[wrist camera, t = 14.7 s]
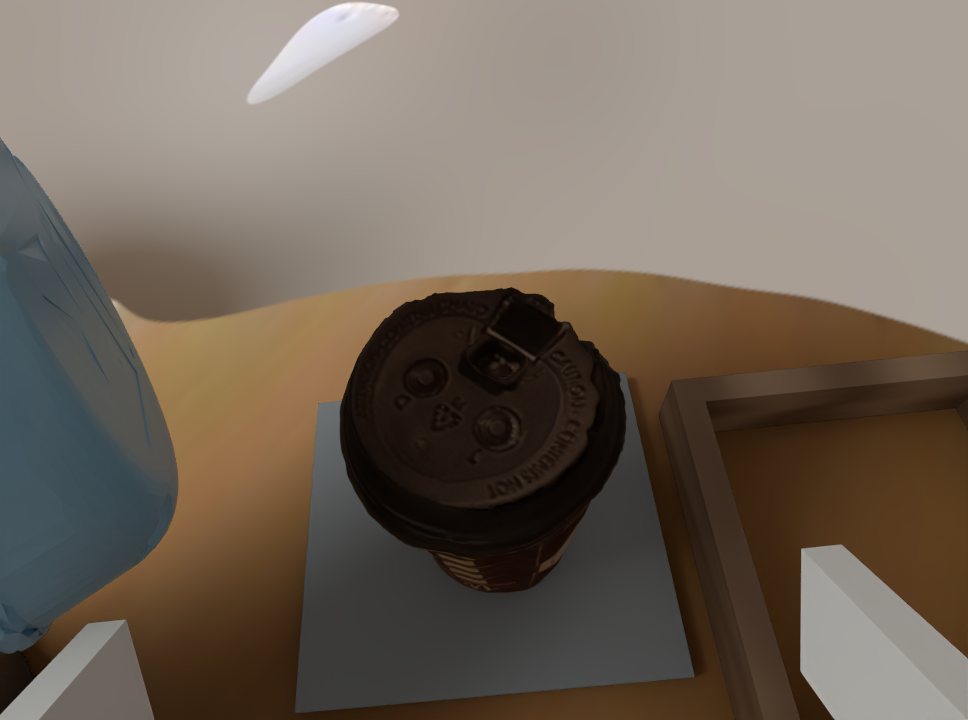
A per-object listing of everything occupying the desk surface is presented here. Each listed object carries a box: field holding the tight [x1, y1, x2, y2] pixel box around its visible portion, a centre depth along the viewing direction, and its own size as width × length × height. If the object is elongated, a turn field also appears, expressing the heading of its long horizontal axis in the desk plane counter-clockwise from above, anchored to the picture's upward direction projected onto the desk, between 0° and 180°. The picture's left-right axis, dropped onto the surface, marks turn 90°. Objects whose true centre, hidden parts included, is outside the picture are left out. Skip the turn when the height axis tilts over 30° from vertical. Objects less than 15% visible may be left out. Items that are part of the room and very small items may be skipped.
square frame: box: [659, 351, 968, 720], centre depth 25 cm, size 15×15×4 cm
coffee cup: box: [340, 287, 627, 594], centre depth 22 cm, size 9×8×13 cm
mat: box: [295, 372, 695, 713], centre depth 28 cm, size 16×14×1 cm
